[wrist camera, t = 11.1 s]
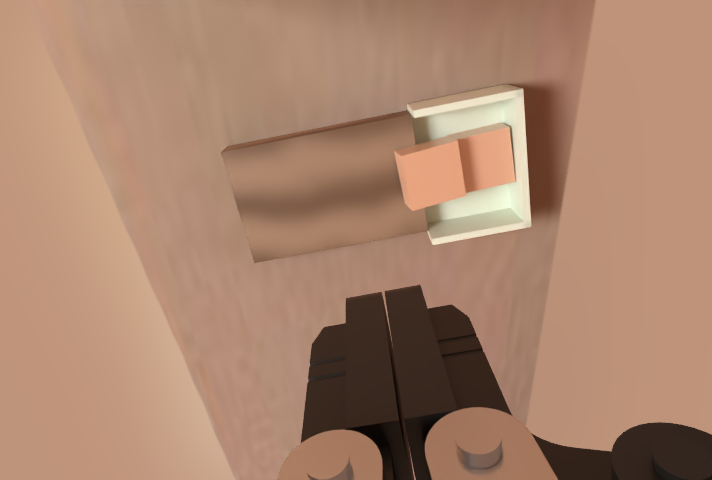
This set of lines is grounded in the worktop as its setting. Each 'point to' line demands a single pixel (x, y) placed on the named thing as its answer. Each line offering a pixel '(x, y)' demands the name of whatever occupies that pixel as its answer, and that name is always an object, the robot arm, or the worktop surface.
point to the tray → (486, 206)
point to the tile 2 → (486, 156)
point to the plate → (323, 187)
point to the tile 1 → (430, 172)
